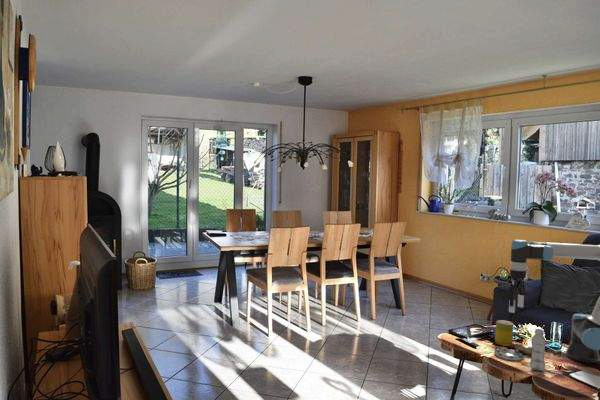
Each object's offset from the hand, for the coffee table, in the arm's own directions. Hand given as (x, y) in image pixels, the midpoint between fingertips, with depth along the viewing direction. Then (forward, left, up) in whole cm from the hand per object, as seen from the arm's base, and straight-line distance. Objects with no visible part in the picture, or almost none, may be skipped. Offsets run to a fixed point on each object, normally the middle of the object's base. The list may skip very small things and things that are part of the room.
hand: (516, 309), depth 245 cm
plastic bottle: (-13, +8, -26) cm, 30 cm away
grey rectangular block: (-3, -10, -26) cm, 27 cm away
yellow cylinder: (+11, -19, -26) cm, 33 cm away
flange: (+3, -1, -26) cm, 26 cm away
